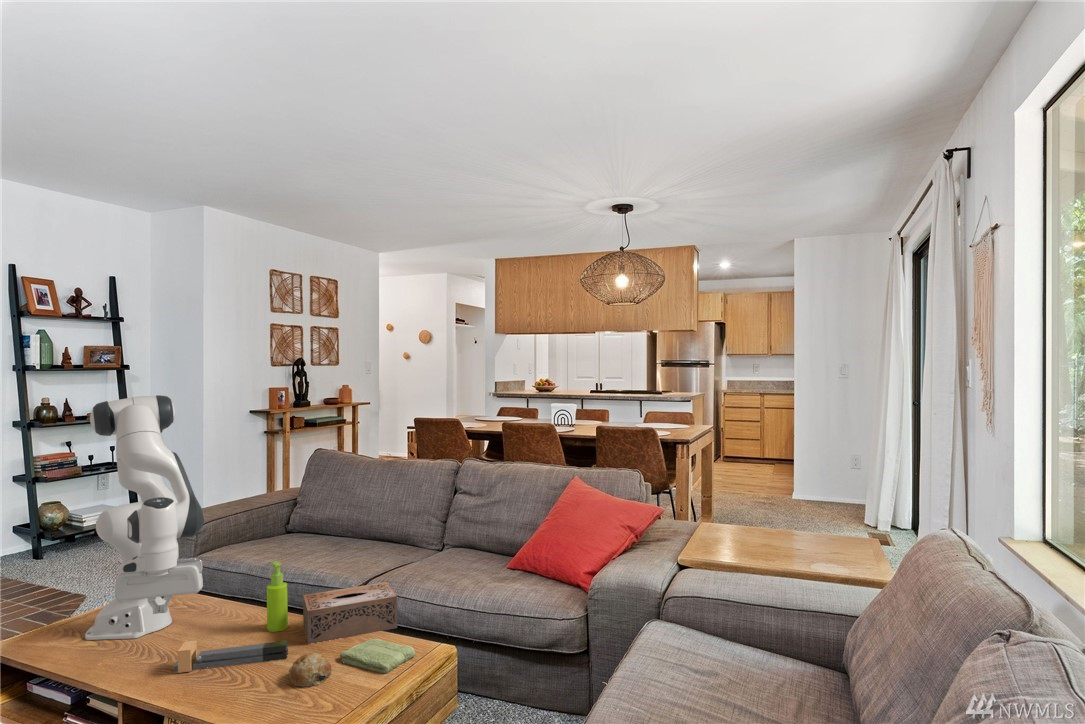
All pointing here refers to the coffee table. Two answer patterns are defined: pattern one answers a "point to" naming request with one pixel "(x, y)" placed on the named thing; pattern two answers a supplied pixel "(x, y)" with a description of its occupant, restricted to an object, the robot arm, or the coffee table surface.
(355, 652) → the washcloth
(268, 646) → the tongs upper arm
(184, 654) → the tan hook block
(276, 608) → the soap dispenser
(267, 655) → the tongs lower arm
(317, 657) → the bread roll
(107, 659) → the coffee table surface
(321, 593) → the tissue box cover
